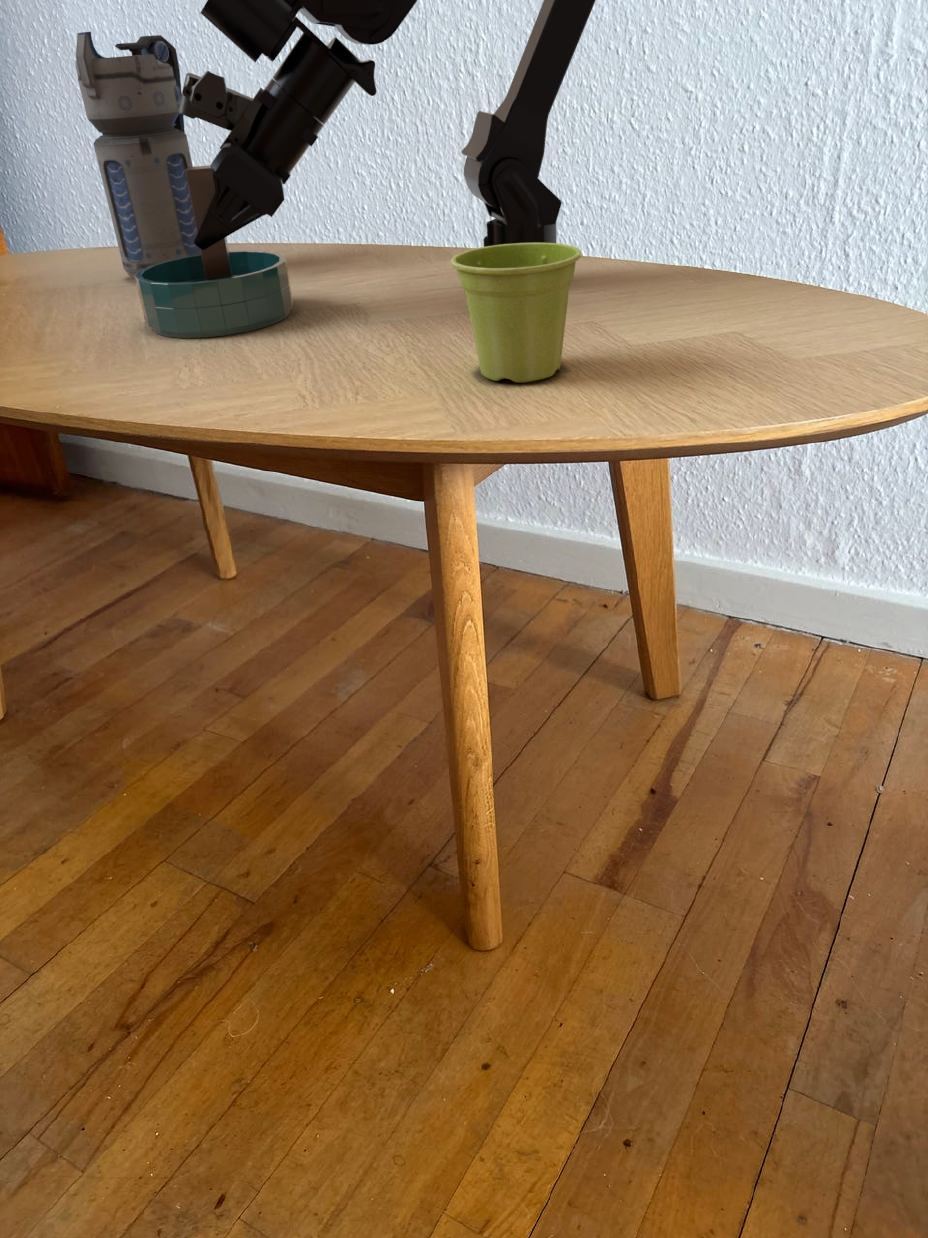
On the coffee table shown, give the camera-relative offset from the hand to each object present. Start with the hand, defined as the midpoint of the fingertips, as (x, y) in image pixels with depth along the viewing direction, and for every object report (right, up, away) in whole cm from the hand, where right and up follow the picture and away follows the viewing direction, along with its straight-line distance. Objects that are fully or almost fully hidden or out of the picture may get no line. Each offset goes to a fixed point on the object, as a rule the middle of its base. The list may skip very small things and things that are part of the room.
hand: (199, 243), depth 91 cm
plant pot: (+29, -17, -16) cm, 37 cm away
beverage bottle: (-10, +6, +25) cm, 28 cm away
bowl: (+1, -6, +4) cm, 7 cm away
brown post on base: (+2, -5, +4) cm, 7 cm away
